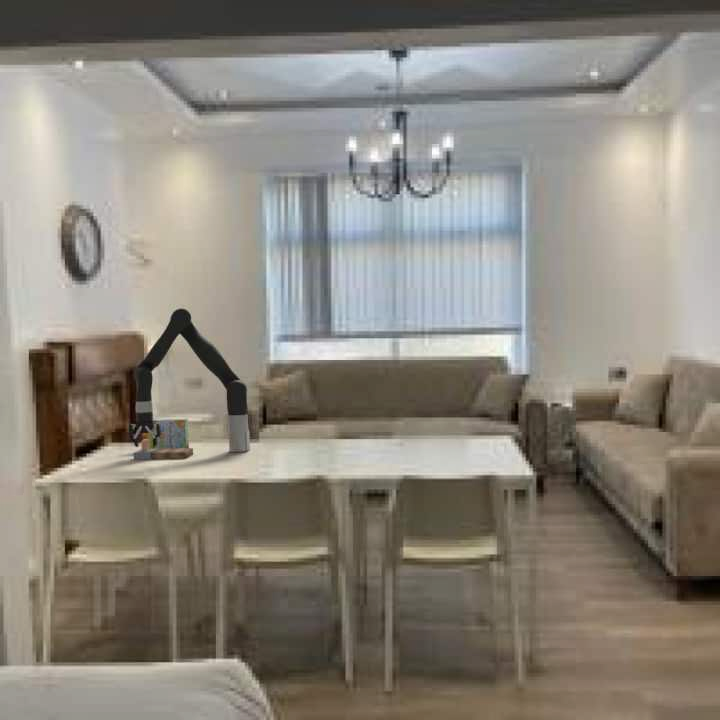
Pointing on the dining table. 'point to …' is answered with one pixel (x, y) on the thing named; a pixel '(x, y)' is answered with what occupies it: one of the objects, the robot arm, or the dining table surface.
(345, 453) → the dining table surface
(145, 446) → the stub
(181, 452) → the board
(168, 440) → the snack box
